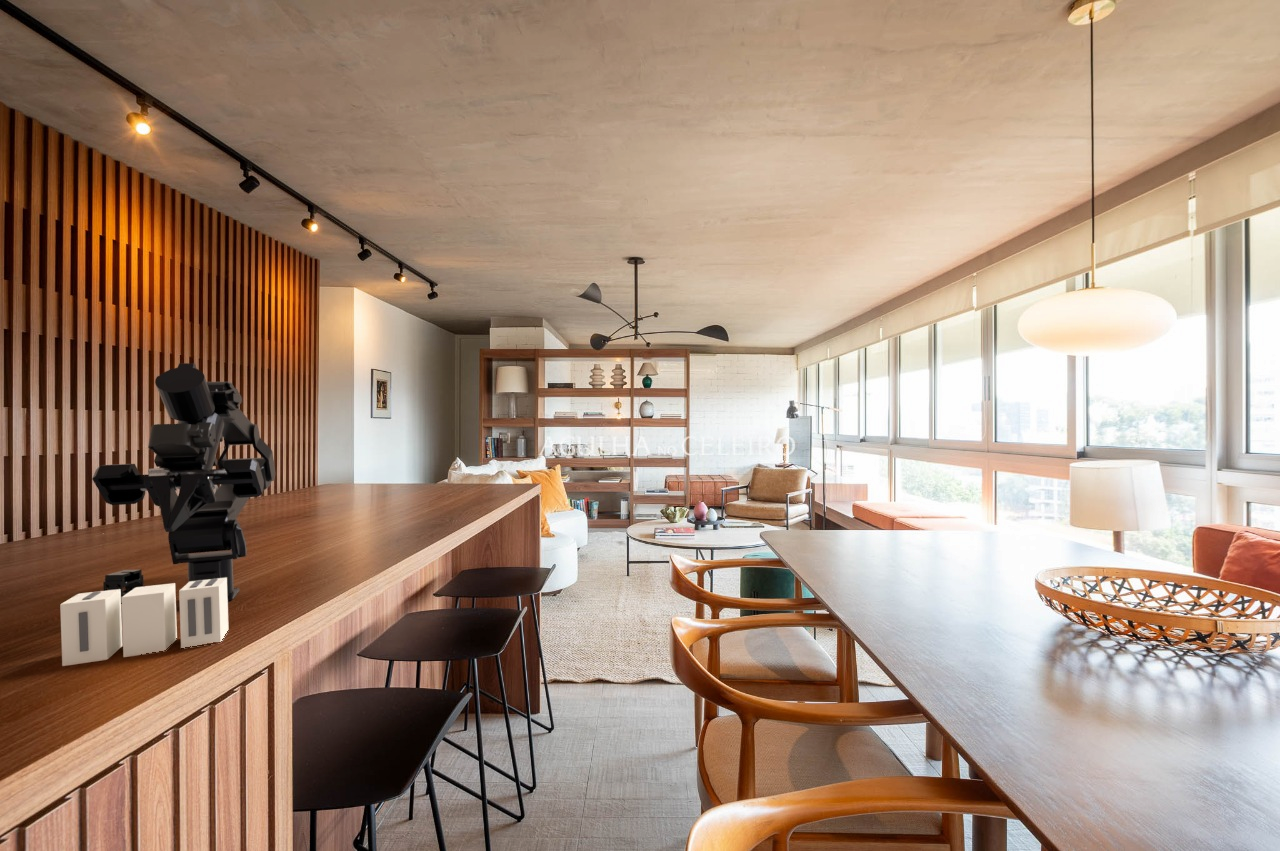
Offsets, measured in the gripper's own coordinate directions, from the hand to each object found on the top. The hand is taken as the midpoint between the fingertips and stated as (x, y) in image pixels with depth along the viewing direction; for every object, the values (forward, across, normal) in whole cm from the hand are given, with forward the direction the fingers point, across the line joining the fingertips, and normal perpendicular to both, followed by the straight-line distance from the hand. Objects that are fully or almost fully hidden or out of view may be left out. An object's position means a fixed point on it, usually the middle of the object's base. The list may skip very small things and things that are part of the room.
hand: (168, 529), depth 81 cm
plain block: (+14, 0, +5) cm, 15 cm away
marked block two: (+14, +6, +5) cm, 16 cm away
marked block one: (+14, -6, +4) cm, 16 cm away
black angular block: (-7, -14, +27) cm, 31 cm away
